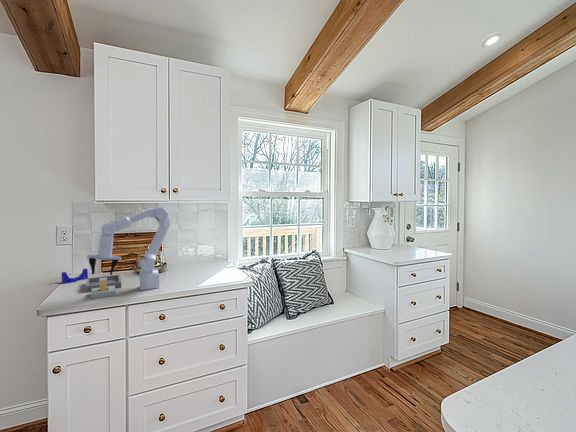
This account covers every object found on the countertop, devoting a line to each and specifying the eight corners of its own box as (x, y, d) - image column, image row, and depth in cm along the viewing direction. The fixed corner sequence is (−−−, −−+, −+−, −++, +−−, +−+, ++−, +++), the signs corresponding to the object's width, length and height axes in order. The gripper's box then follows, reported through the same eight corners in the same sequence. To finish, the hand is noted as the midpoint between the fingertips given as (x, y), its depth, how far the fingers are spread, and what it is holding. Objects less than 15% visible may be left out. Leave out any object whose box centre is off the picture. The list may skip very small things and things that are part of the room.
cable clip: (64, 284, 168) (64, 273, 168) (62, 282, 171) (61, 272, 171) (88, 279, 178) (88, 269, 177) (86, 278, 180) (85, 268, 180)
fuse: (107, 293, 152) (106, 277, 151) (107, 294, 149) (106, 279, 149) (100, 294, 150) (99, 278, 150) (100, 295, 148) (99, 279, 147)
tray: (120, 279, 177) (119, 274, 177) (121, 287, 161) (121, 281, 161) (87, 283, 169) (87, 278, 168) (85, 292, 153) (85, 286, 153)
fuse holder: (115, 290, 156) (114, 285, 156) (115, 295, 148) (115, 290, 148) (92, 293, 151) (92, 288, 151) (91, 299, 143) (91, 294, 143)
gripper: (87, 246, 143) (83, 275, 142) (121, 249, 148) (117, 276, 148) (90, 245, 149) (86, 272, 149) (123, 247, 155) (119, 273, 154)
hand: (102, 274), depth 149 cm, fingers open, 7 cm apart
